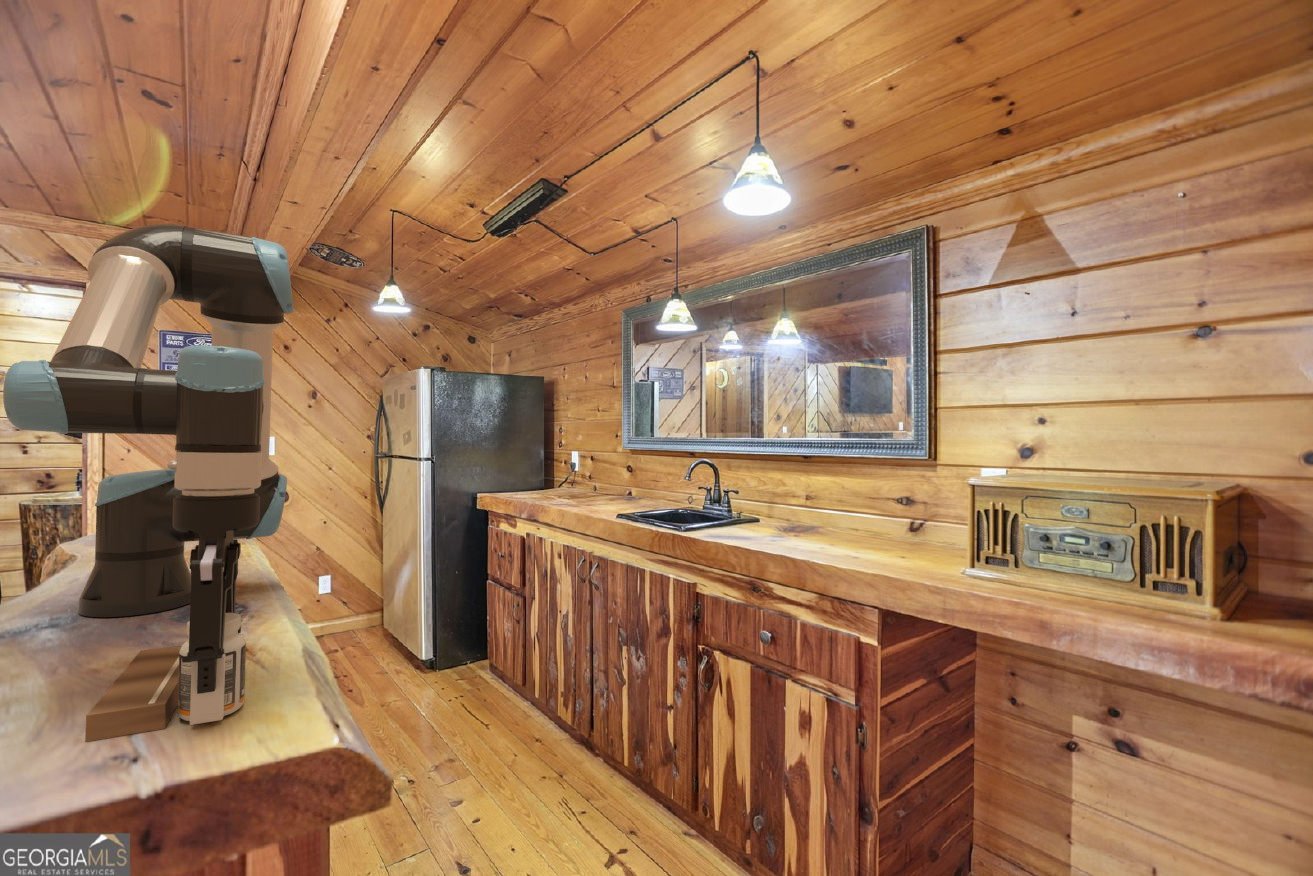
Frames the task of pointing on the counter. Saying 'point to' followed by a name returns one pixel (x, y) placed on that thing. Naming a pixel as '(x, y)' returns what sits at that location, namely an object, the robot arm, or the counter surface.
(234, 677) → the pill bottle
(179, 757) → the counter surface
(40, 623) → the counter surface
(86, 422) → the robot arm
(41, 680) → the counter surface
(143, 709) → the plank
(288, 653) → the counter surface
